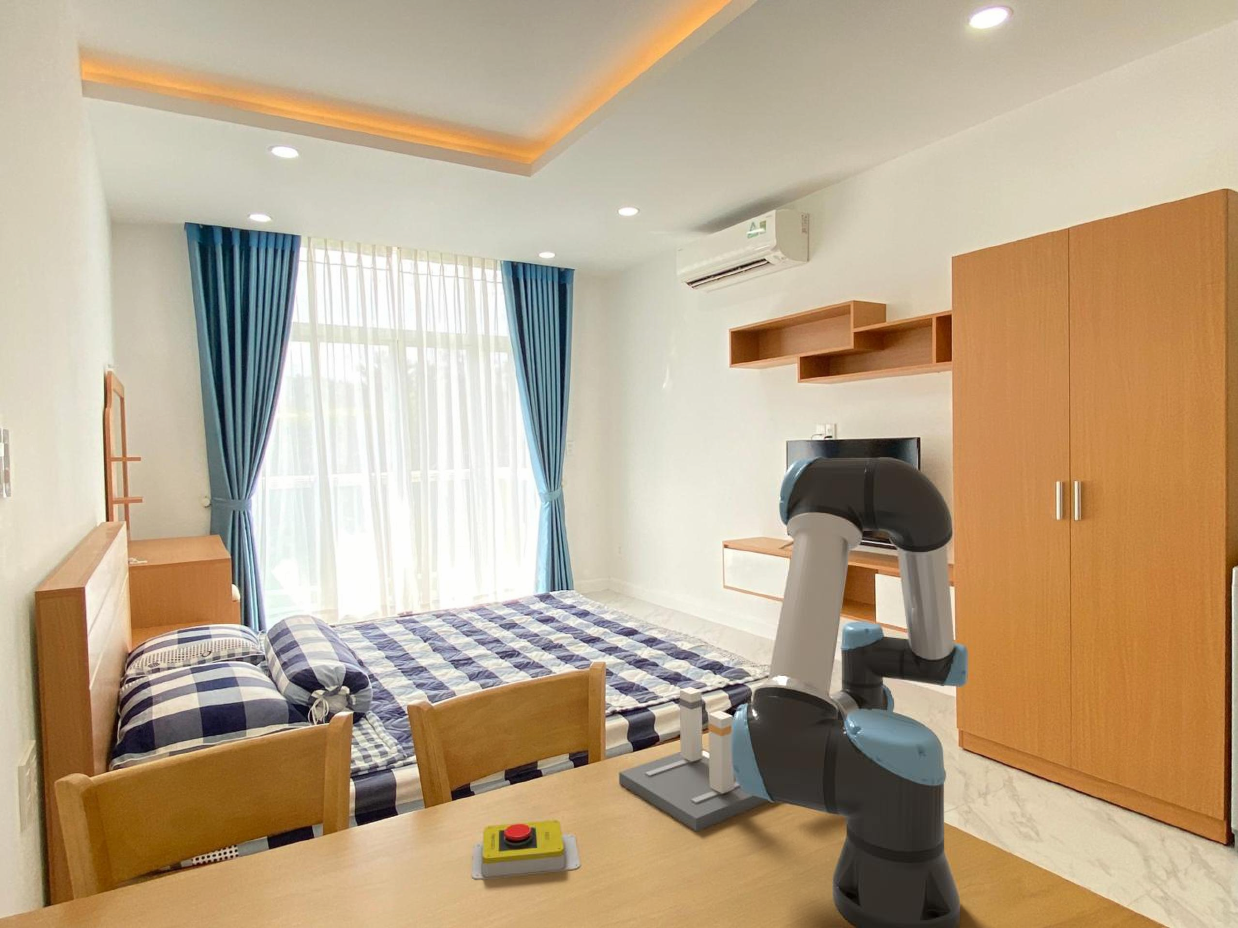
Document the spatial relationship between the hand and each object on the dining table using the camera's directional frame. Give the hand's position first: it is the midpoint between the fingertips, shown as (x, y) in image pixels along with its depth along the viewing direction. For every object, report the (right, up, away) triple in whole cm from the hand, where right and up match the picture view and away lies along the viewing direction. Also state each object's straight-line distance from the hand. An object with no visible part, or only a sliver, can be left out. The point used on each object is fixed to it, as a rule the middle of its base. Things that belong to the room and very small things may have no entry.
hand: (745, 746), depth 126 cm
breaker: (-8, -5, +9) cm, 13 cm away
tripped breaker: (-4, -5, -3) cm, 8 cm away
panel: (-8, -8, +1) cm, 11 cm away
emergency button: (-35, -10, -18) cm, 40 cm away
